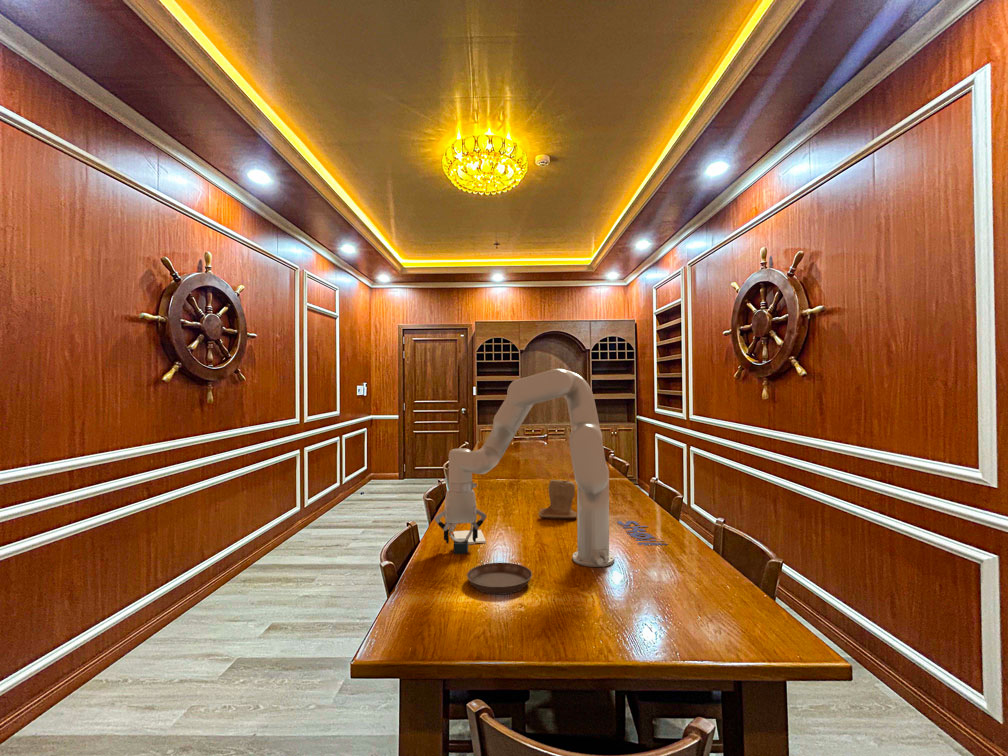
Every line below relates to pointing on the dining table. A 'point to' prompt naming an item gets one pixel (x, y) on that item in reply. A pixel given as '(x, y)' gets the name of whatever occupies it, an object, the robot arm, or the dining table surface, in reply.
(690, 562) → the dining table surface
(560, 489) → the brown boot
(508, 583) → the plant saucer
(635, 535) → the signage
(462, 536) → the pad
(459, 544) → the watch
